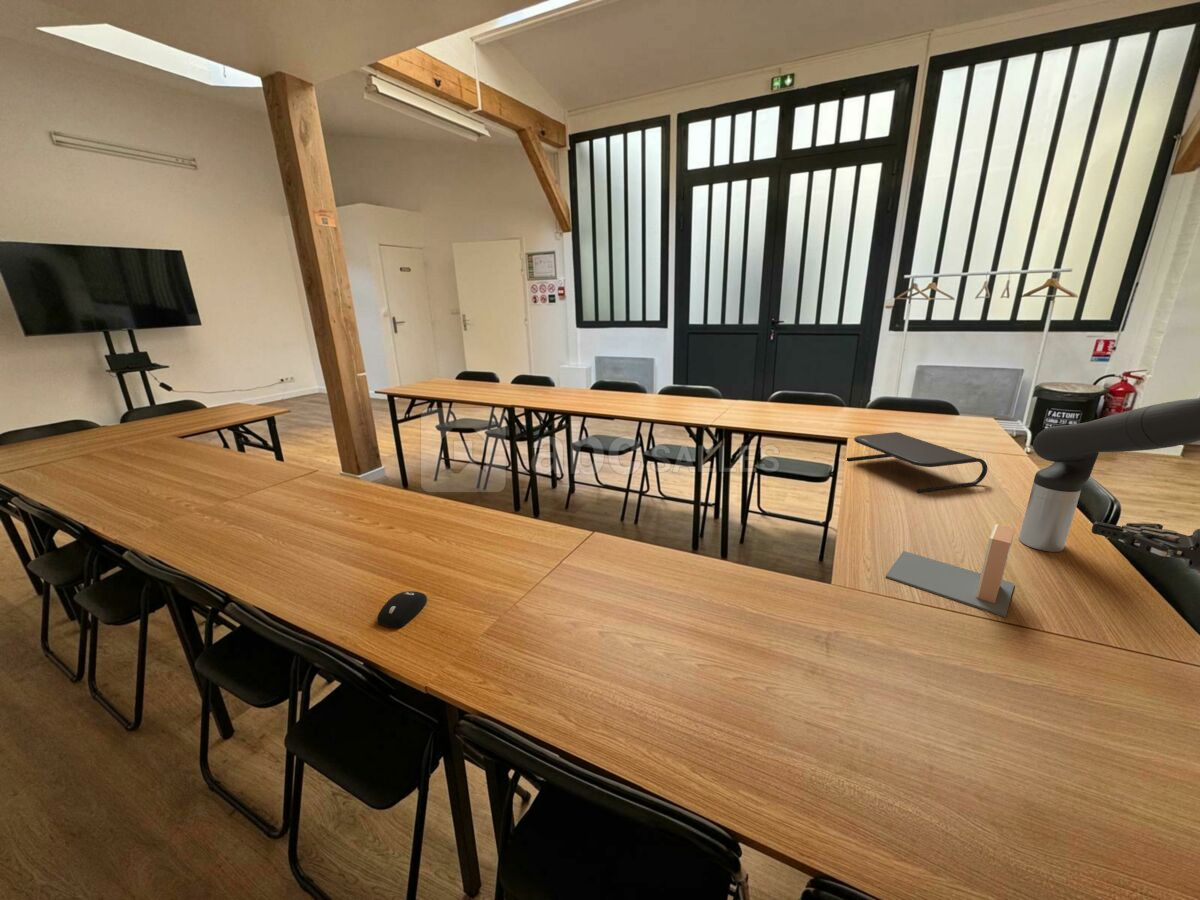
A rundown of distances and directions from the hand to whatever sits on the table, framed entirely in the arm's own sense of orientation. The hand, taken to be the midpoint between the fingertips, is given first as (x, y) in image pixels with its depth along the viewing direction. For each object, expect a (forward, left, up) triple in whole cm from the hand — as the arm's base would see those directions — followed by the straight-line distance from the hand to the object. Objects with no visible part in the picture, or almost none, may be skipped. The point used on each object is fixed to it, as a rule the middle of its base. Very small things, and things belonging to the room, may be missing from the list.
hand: (1092, 527), depth 94 cm
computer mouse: (+95, -109, -22) cm, 146 cm away
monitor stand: (-78, -46, -22) cm, 93 cm away
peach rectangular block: (0, -13, -21) cm, 25 cm away
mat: (0, -20, -21) cm, 30 cm away
